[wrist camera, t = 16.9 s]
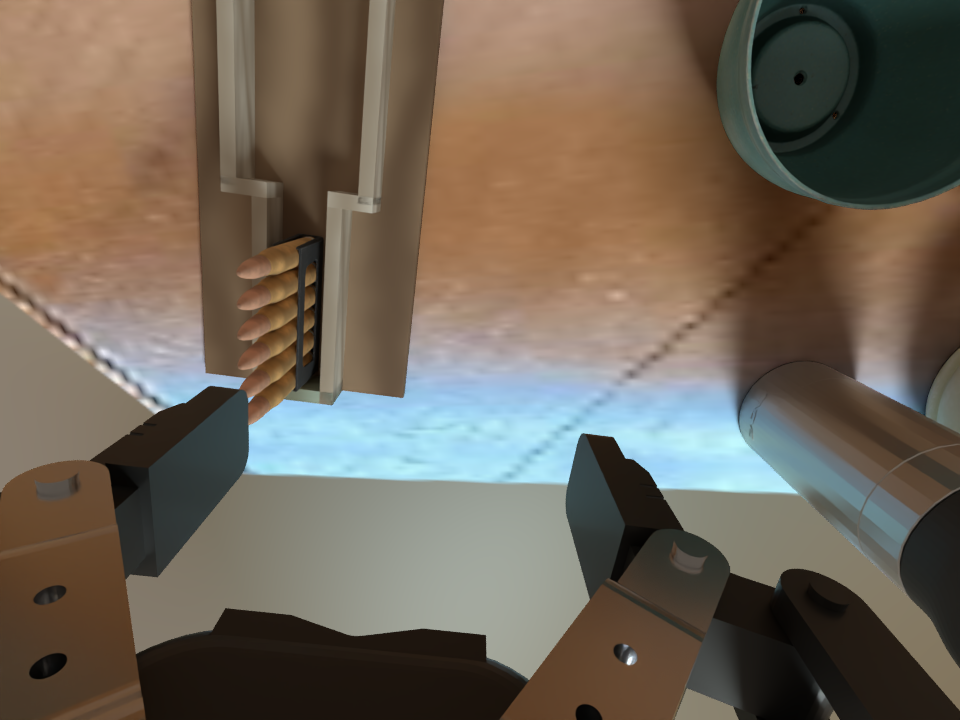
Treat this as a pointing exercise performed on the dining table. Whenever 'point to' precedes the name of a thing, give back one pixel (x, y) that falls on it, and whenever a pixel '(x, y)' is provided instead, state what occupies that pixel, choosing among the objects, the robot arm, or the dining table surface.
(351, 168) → the shallow open tray
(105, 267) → the dining table surface
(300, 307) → the ammunition clip
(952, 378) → the kettle
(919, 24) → the flower pot
